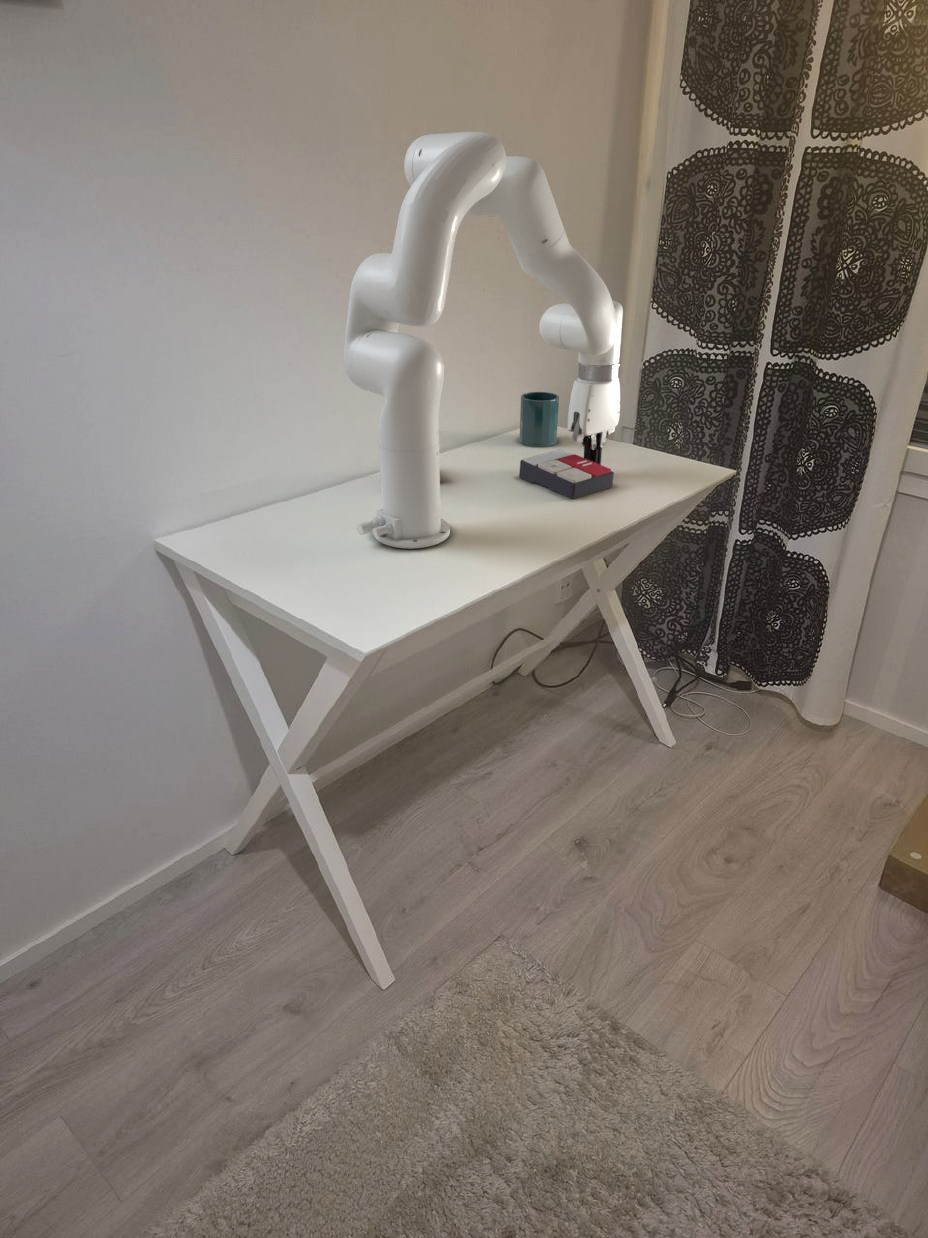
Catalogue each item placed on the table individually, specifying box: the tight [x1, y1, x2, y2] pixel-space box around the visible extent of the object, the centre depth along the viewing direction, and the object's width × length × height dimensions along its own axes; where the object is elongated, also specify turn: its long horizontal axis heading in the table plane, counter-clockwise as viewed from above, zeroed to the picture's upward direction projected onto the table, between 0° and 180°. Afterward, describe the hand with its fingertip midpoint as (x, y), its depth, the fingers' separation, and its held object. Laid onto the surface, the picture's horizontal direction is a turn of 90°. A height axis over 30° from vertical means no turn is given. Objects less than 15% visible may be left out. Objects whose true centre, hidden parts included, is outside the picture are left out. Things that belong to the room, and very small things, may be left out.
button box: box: [518, 448, 615, 500], centre depth 155 cm, size 11×4×15 cm
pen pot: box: [519, 391, 560, 448], centre depth 177 cm, size 8×8×10 cm
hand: (591, 465), depth 159 cm, fingers closed
